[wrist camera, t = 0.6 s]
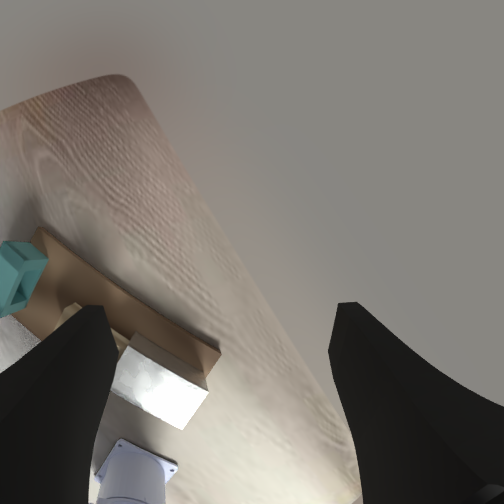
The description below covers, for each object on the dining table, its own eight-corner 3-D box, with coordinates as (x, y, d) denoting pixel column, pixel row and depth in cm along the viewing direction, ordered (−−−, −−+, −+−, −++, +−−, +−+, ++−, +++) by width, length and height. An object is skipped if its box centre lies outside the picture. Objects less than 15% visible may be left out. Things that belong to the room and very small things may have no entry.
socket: (25, 308, 25) (-1, 318, 19) (6, 291, 24) (-21, 298, 19) (49, 259, 26) (24, 260, 20) (29, 242, 25) (3, 240, 20)
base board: (173, 418, 30) (173, 424, 28) (6, 303, 25) (1, 305, 24) (220, 350, 31) (221, 354, 30) (42, 227, 26) (38, 226, 25)
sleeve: (180, 405, 29) (181, 429, 24) (114, 367, 27) (104, 386, 22) (204, 372, 29) (208, 392, 25) (135, 331, 28) (127, 345, 23)
